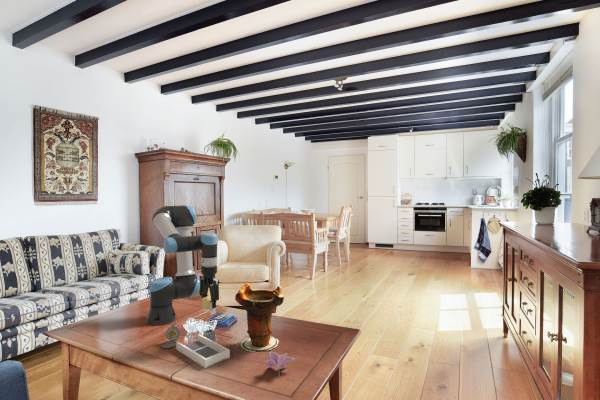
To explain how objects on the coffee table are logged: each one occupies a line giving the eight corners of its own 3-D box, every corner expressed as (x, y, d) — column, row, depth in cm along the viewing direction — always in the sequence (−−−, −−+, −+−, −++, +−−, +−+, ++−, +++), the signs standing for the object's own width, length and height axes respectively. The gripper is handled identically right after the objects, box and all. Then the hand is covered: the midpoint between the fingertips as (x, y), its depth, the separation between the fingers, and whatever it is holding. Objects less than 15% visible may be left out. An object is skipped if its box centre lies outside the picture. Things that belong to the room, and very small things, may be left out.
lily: (299, 374, 134) (296, 348, 138) (287, 376, 124) (284, 348, 128) (272, 379, 137) (270, 353, 141) (259, 381, 127) (256, 354, 131)
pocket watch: (162, 350, 152) (162, 328, 152) (160, 342, 159) (160, 322, 159) (181, 346, 156) (181, 325, 156) (178, 339, 163) (178, 319, 163)
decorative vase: (286, 352, 149) (283, 290, 149) (235, 356, 148) (231, 293, 147) (285, 332, 170) (282, 278, 170) (240, 336, 169) (237, 281, 168)
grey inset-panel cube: (203, 340, 163) (203, 331, 162) (210, 337, 166) (210, 329, 165) (208, 342, 160) (208, 334, 160) (215, 339, 163) (215, 331, 163)
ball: (200, 308, 163) (200, 296, 162) (210, 305, 167) (210, 293, 167) (207, 312, 159) (207, 299, 158) (217, 308, 163) (217, 296, 163)
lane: (176, 349, 152) (176, 342, 152) (199, 341, 161) (199, 334, 161) (205, 368, 136) (205, 360, 136) (229, 357, 145) (229, 349, 145)
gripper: (191, 263, 166) (191, 309, 166) (213, 270, 153) (213, 319, 154) (205, 261, 171) (205, 305, 172) (227, 267, 158) (226, 315, 159)
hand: (209, 312), depth 163 cm, fingers closed on ball, 6 cm apart
